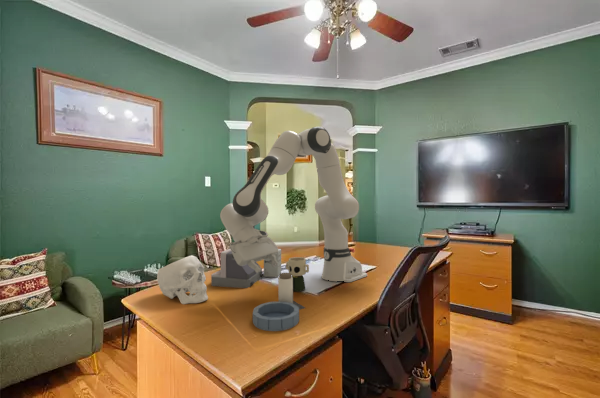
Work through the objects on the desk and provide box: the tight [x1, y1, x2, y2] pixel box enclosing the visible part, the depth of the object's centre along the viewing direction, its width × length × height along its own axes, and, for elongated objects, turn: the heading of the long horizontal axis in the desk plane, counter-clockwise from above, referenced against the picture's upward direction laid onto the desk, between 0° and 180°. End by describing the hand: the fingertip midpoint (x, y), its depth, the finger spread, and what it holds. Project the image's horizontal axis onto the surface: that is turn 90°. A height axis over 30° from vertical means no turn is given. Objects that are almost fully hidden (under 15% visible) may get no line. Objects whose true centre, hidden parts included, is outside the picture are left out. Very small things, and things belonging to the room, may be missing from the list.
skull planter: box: [156, 254, 209, 305], centre depth 109 cm, size 14×20×19 cm
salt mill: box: [277, 272, 294, 303], centre depth 98 cm, size 5×5×11 cm
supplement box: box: [263, 248, 282, 278], centre depth 139 cm, size 7×7×13 cm
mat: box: [293, 300, 306, 311], centre depth 99 cm, size 10×10×1 cm
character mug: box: [285, 256, 310, 292], centre depth 116 cm, size 11×7×13 cm, turn 59°
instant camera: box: [210, 248, 264, 289], centre depth 131 cm, size 21×21×15 cm
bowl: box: [252, 300, 300, 332], centre depth 87 cm, size 14×14×4 cm
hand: (268, 268), depth 102 cm, fingers open, 8 cm apart
